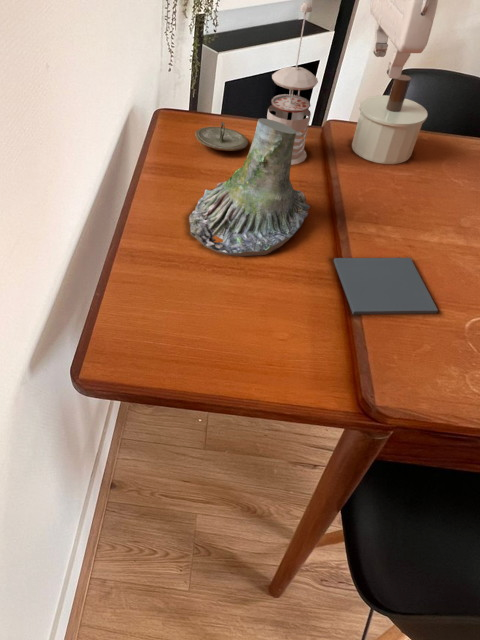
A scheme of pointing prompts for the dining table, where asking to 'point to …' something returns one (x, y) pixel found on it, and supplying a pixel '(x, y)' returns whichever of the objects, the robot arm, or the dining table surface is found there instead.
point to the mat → (384, 286)
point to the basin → (384, 141)
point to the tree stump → (254, 199)
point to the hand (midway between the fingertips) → (385, 65)
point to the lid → (221, 138)
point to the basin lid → (394, 107)
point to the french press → (294, 99)
